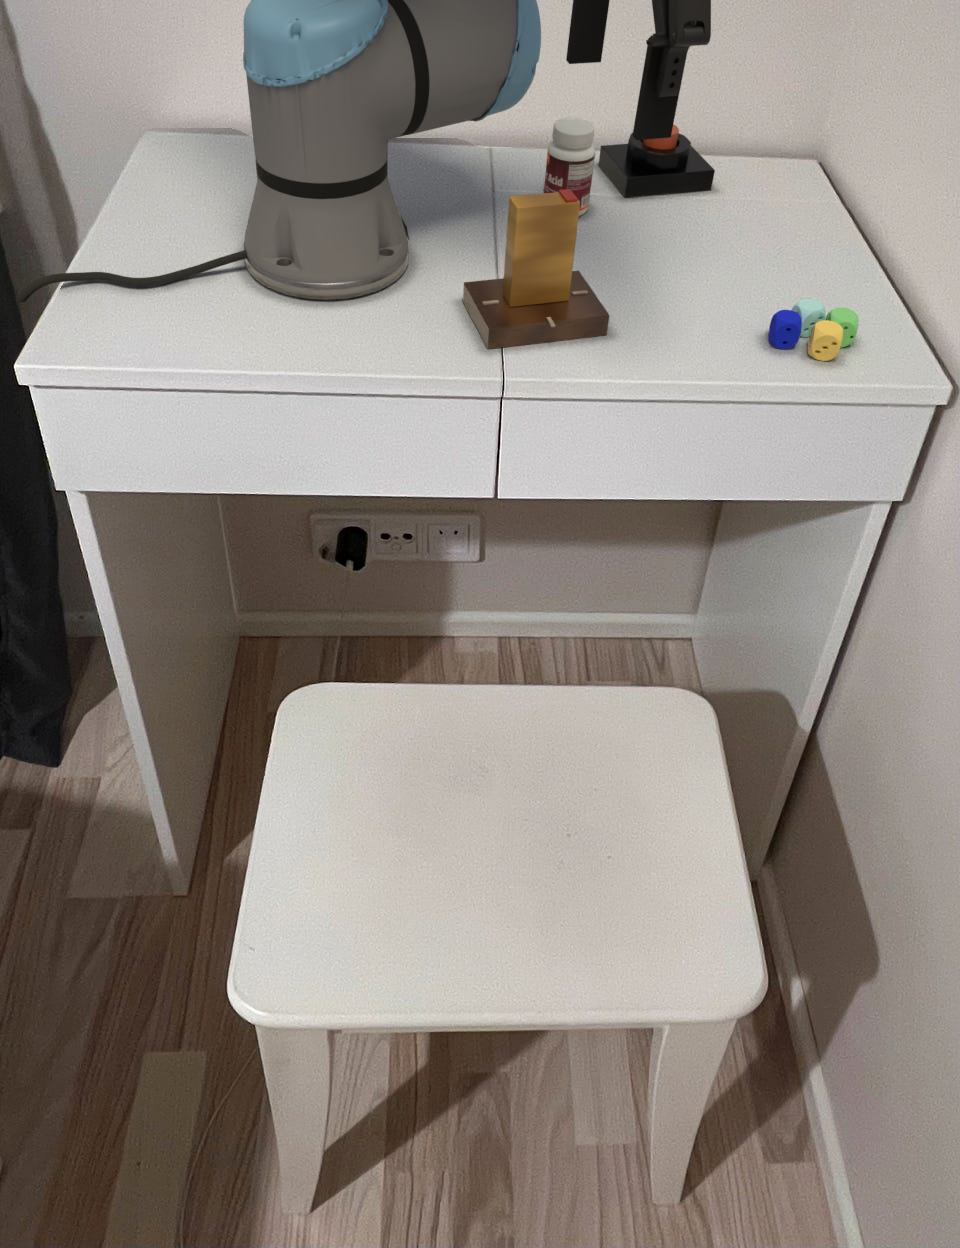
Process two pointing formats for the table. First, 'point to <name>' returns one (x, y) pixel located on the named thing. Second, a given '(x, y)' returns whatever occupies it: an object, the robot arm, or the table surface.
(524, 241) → the thumb turn
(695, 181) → the button box
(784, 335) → the dice
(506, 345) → the lock plate
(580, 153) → the pill bottle
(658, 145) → the bell button
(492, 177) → the table surface
